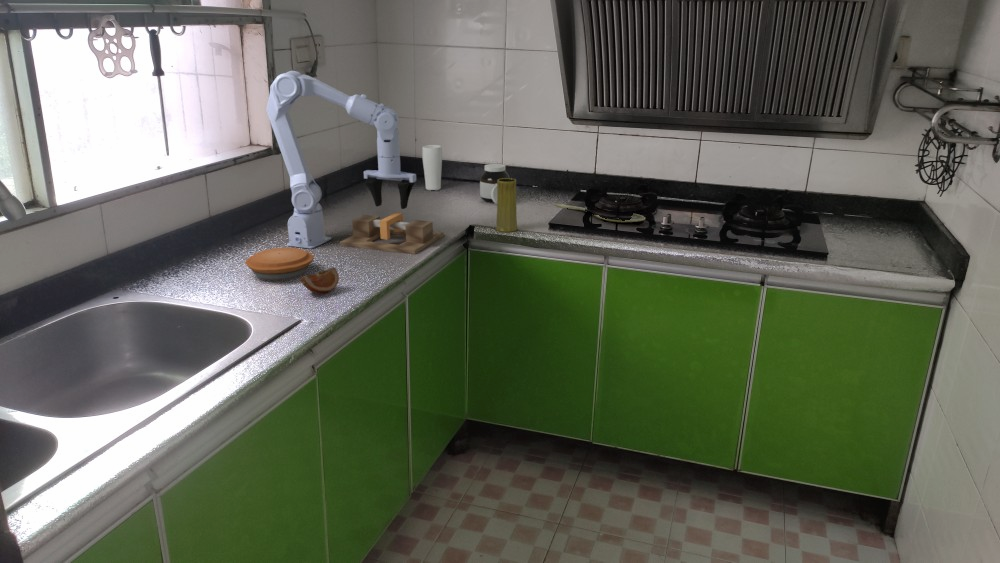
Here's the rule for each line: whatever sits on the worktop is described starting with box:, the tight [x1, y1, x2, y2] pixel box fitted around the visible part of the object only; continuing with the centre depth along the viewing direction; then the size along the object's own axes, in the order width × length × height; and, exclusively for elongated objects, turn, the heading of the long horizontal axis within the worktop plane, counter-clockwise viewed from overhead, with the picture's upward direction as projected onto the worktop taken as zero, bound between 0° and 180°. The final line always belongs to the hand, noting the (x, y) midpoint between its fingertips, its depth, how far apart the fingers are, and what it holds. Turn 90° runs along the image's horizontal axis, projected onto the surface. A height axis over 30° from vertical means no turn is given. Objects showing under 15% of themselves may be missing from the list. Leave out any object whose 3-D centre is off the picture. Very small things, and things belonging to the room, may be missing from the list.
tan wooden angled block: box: [380, 212, 404, 241], centre depth 198 cm, size 9×2×5 cm, turn 159°
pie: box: [244, 247, 314, 282], centre depth 174 cm, size 15×16×5 cm
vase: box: [495, 177, 518, 233], centre depth 208 cm, size 6×6×14 cm
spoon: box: [555, 203, 646, 223], centre depth 225 cm, size 35×11×2 cm, turn 41°
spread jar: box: [479, 163, 510, 205], centre depth 239 cm, size 12×11×12 cm
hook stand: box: [339, 214, 445, 255], centre depth 199 cm, size 22×18×6 cm
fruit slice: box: [300, 267, 340, 295], centre depth 162 cm, size 8×7×5 cm
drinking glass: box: [421, 144, 443, 191], centre depth 257 cm, size 7×7×15 cm
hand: (391, 206), depth 197 cm, fingers open, 7 cm apart
